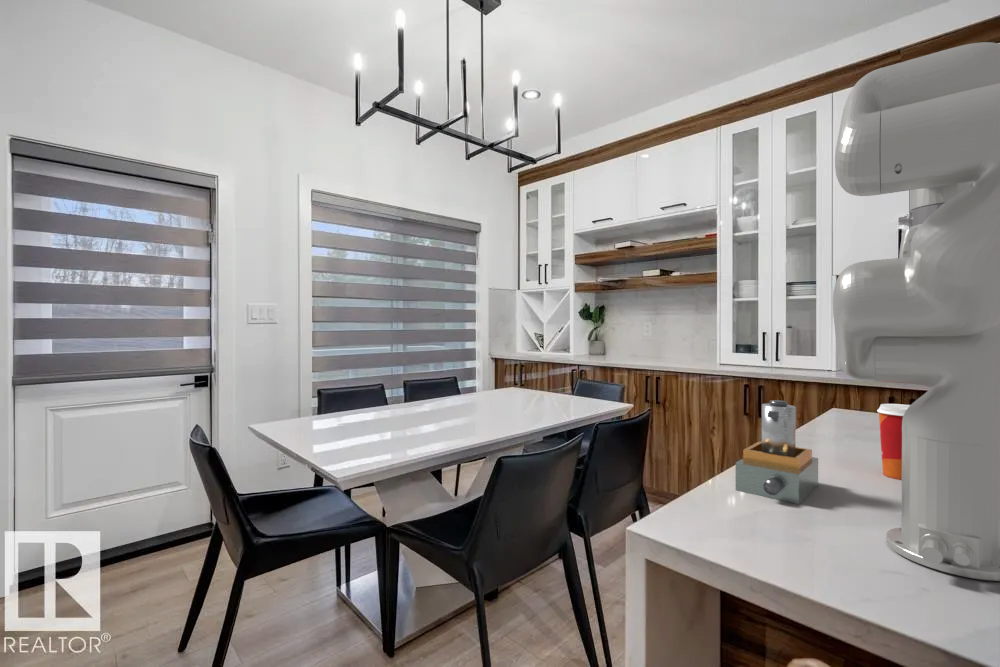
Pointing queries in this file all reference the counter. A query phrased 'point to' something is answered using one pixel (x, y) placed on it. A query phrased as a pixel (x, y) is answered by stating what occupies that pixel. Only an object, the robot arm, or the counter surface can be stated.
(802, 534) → the counter surface
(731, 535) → the counter surface
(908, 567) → the counter surface
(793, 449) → the spout can
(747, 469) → the box
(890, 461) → the paper cup
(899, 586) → the counter surface
